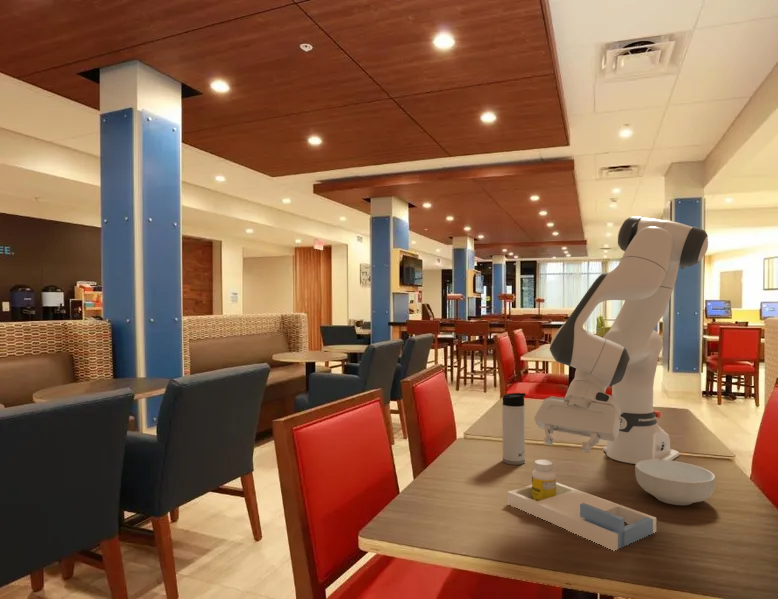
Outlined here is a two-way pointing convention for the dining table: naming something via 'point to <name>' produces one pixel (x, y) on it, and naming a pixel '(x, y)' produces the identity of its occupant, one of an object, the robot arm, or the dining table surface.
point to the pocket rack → (586, 515)
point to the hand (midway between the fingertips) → (565, 447)
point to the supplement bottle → (543, 480)
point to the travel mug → (514, 428)
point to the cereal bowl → (675, 481)
